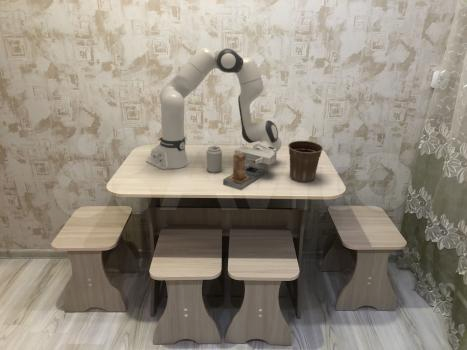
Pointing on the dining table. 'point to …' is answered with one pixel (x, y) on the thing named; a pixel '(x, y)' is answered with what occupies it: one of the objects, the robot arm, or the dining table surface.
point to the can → (214, 159)
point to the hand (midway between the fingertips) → (246, 159)
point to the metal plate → (246, 177)
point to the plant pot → (304, 160)
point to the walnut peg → (239, 166)
